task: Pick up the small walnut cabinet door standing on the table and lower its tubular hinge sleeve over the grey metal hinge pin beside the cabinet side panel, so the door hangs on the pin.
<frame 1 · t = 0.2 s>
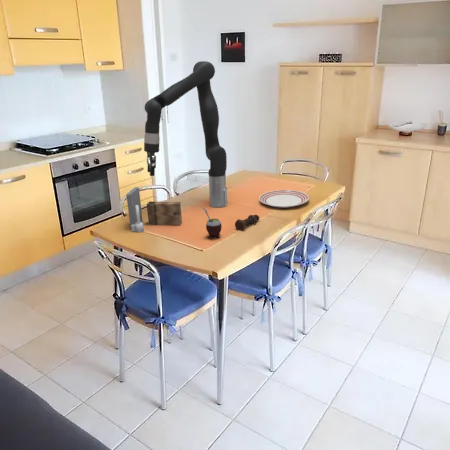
hand: (150, 173, 219), 23 cm above the table, tool pointing down, fingers open, 8 cm apart
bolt: (248, 226, 209), on the table
cabinet side: (139, 230, 208), on the table
mate gourd: (213, 237, 198), on the table
door: (169, 223, 215), on the table
dinner plate: (283, 202, 240), on the table
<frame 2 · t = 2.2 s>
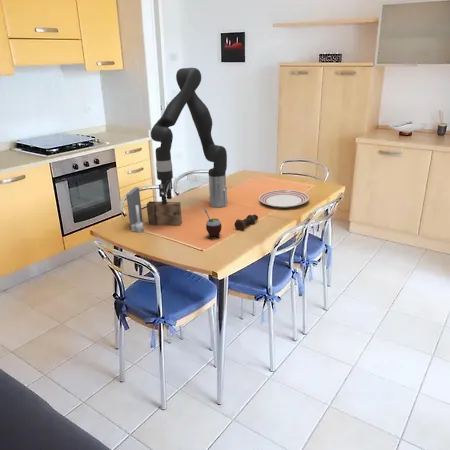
hand: (166, 201, 211), 12 cm above the table, tool pointing down, fingers open, 8 cm apart
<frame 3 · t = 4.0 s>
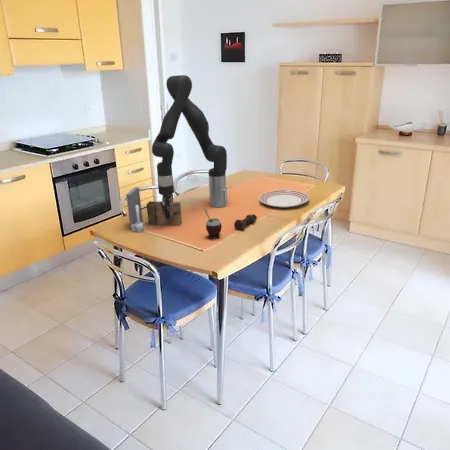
hand: (168, 216, 214), 4 cm above the table, tool pointing down, fingers closed on door, 3 cm apart
door: (169, 223, 215), on the table, touching gripper
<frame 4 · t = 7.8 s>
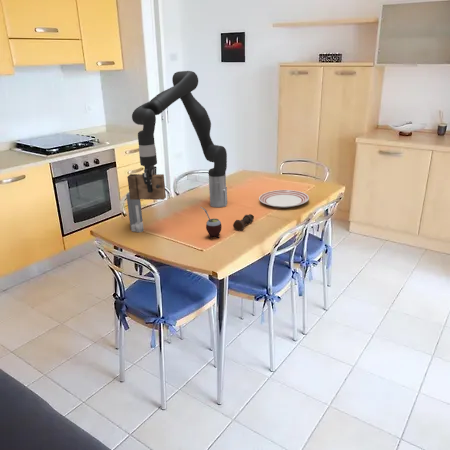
hand: (151, 190, 199), 20 cm above the table, tool pointing down, fingers closed on door, 3 cm apart
door: (152, 198, 200), point 17 cm above the table, touching gripper
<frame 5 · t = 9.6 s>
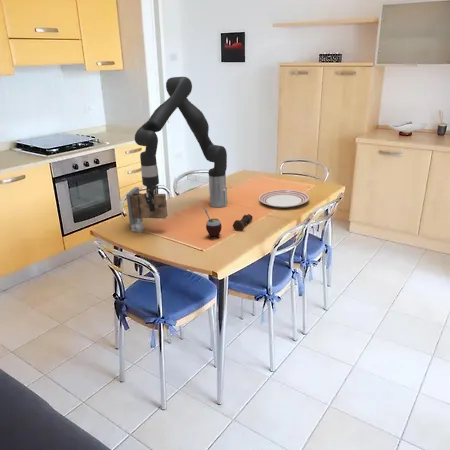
hand: (153, 209, 203), 11 cm above the table, tool pointing down, fingers closed on door, 3 cm apart
door: (154, 216, 204), point 7 cm above the table, touching gripper
when the fingers open (9 cm above the table, at t = 11.4 s): door drops 1 cm, resting on cabinet side.
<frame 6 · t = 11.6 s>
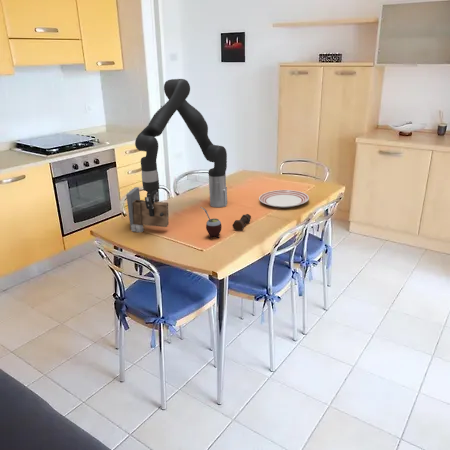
hand: (154, 213, 203), 9 cm above the table, tool pointing down, fingers open, 5 cm apart
door: (155, 224, 205), point 4 cm above the table, touching cabinet side
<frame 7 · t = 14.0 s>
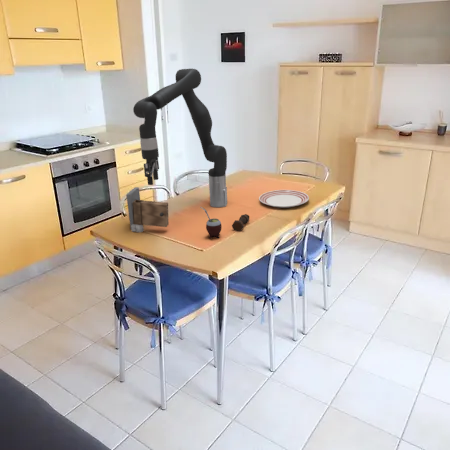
hand: (153, 182, 199), 24 cm above the table, tool pointing down, fingers open, 8 cm apart
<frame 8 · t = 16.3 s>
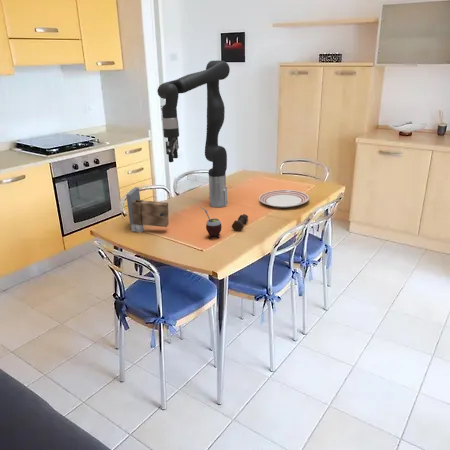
hand: (173, 160, 213), 30 cm above the table, tool pointing down, fingers open, 8 cm apart
at the end: door 0.1 cm from the target spot on the cabinet side, point 3.5 cm above the cabinet side's base; door tilted 5°; the gripper is holding nothing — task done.
